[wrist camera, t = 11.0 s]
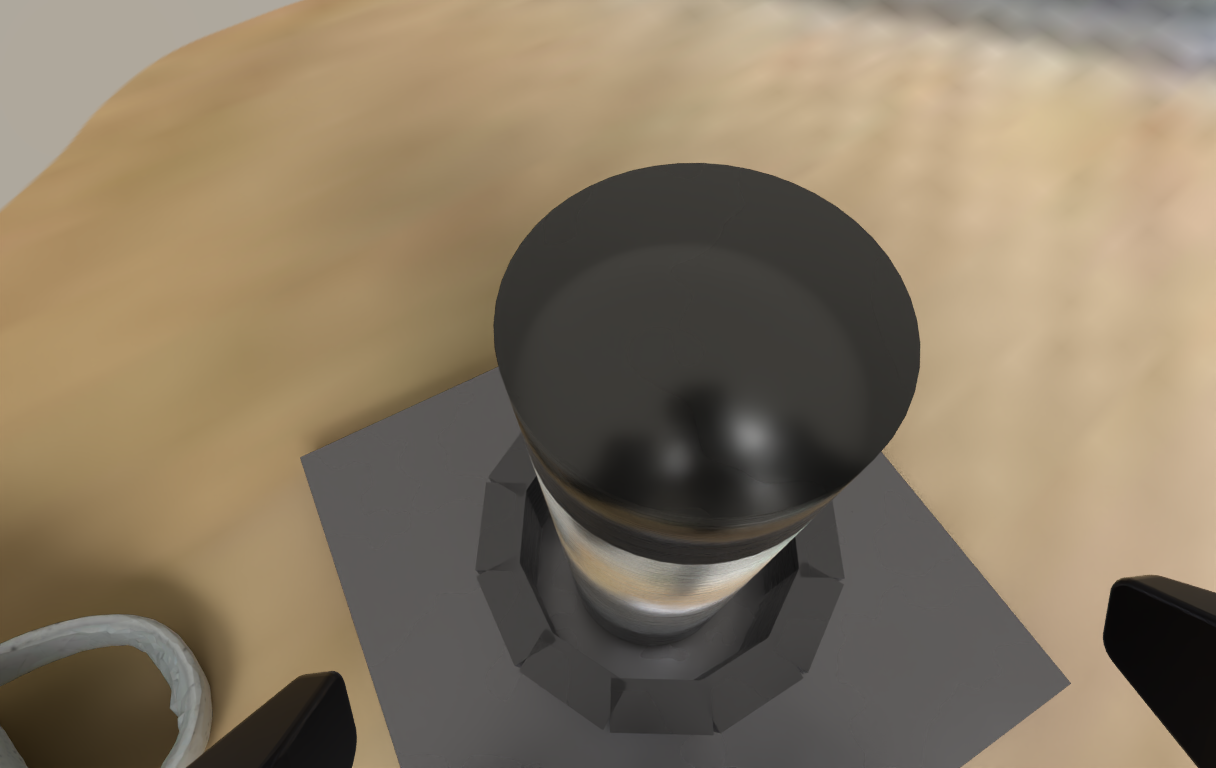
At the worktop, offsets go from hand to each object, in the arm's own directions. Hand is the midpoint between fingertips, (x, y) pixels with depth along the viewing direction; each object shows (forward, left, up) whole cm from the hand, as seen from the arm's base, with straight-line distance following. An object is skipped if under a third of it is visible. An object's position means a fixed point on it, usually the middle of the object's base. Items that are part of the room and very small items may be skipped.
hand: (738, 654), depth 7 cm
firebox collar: (+1, +3, -11) cm, 11 cm away
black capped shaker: (+1, +3, -10) cm, 11 cm away
